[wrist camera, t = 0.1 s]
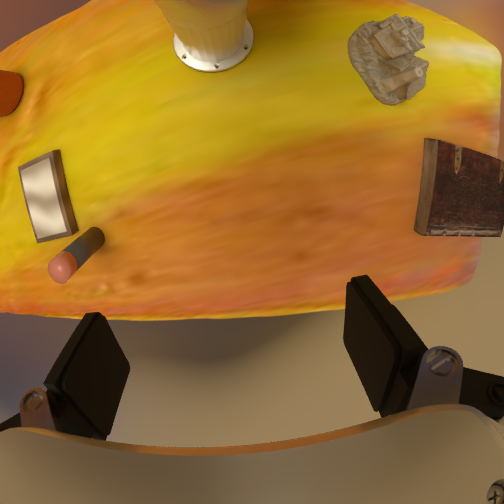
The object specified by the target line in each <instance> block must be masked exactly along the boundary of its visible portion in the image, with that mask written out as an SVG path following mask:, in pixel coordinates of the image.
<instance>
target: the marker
mask: <svg viewBox="0 0 504 504" xmlns="http://www.w3.org/2000/svg"><path fill="white" fill-rule="evenodd" d="M104 240H105V238H104V234H103V232H102V231H101V230H100V229H99V228H97V227H92V228H90V229H89V230H87V231H86V232H85V233H83V234H82V235H81V236H80V237H78V238H77V239H76V240H75V241H73V242H72V243H71V244H70V245H69V246H67V247H66V248H65V249H64V250H63V251H61V252H60V253H59V254H58V255H57V256H56V257H54V258H53V259H52V260H51V261H50V262H49V264H48V271H49V274H50V276H51V278H52V279H53V280H54V281H55V282H57V283H60V284H64V283H66V282H67V281H68V280H69V279H70V278H71V276H72V275H73V274H74V273H75V272H76V271H77V270H78V269H79V268H80V267H81V266H82V265H83V264H84V263H85V262H86V261H87V260H88V259H89V258H90V257H91V256H92V255H93V254H94V253H95V252H96V251H97V250H98V249H99V248H100V247H101V246H102V245H103V243H104Z"/></svg>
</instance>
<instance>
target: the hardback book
mask: <svg viewBox="0 0 504 504" xmlns="http://www.w3.org/2000/svg"><path fill="white" fill-rule="evenodd" d="M503 226H504V161H501V160H499V159H497V158H494V157H491V156H489V155H486V154H483V153H480V152H477V151H474V150H471V149H468V148H465V147H462V146H458V145H455V144H452V143H448V142H445V141H441V140H436V139H428V138H424V153H423V166H422V176H421V185H420V192H419V200H418V207H417V213H416V219H415V225H414V230H415V231H416V232H417V233H419V234H420V235H423V236H478V237H501V234H502V230H503Z"/></svg>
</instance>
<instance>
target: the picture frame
mask: <svg viewBox="0 0 504 504" xmlns="http://www.w3.org/2000/svg"><path fill="white" fill-rule="evenodd" d="M18 170H19V175H20V180H21V185H22V189H23V194H24V198H25V202H26V206H27V210H28V213H29V217H30V221H31V224H32V227H33V231H34V234H35V237H36V240H37V243H42V242H46V241H50V240H54V239H58V238H62V237H66V236H71V235H73V234H74V233H76V232H77V231H78V227H77V224H76V220H75V217H74V213H73V209H72V206H71V202H70V198H69V193H68V189H67V185H66V180H65V175H64V170H63V165H62V160H61V154H60V150H54V151H51V152H49V153H46V154H44V155H42V156H40V157H38V158H36V159H33V160H31V161H29V162H27V163H25V164H23V165H21V166H19V167H18Z"/></svg>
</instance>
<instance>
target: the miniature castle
mask: <svg viewBox="0 0 504 504" xmlns="http://www.w3.org/2000/svg"><path fill="white" fill-rule="evenodd" d="M423 37H424V26H423V24H422V23H420V22H417V20H416V19H415V18H410V17H407V16H405V17H402V18H401V17H400V16H399V15H398V14H395V15H393V16H391V17H389V18H387V19H385V20H383V21H381V22H375V21H372V22H366V23H364V24H363V25H361V26H360V27H359V28H358V29H357V30H356V31H355V32H354V33H353V34H352V36H351V37H350V38H349V41H348V54H349V58H350V61H351V63H352V65H353V67H354V68H355V69H356V71H357V72H358V73H359V74H360V76H361V77H362V79H363V81H364V82H365V84H366V85H367V86H368V88H369V89H370V91H371V92H372V94H373V95H374V97H375V98H376V99H377V100H378V101H380V102H381V103H382V104H386V105H396V104H398V103H400V102H403V101H404V100H406V99H408V100H410V99H411V97H413V96H414V95H415V94H416V93H417V92H419V91H420V90H422V89H423V88H424V86H425V83H426V82H425V78H426V71H427V68H428V65H429V62H428V61H425V60H423V59H421V58H418V57H416V56H414V54H415V52H417V51H419V50H420V49H421V48H425V46H424V45H423V44H422V43H421V42H420V41H421V40H422V39H423Z"/></svg>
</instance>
